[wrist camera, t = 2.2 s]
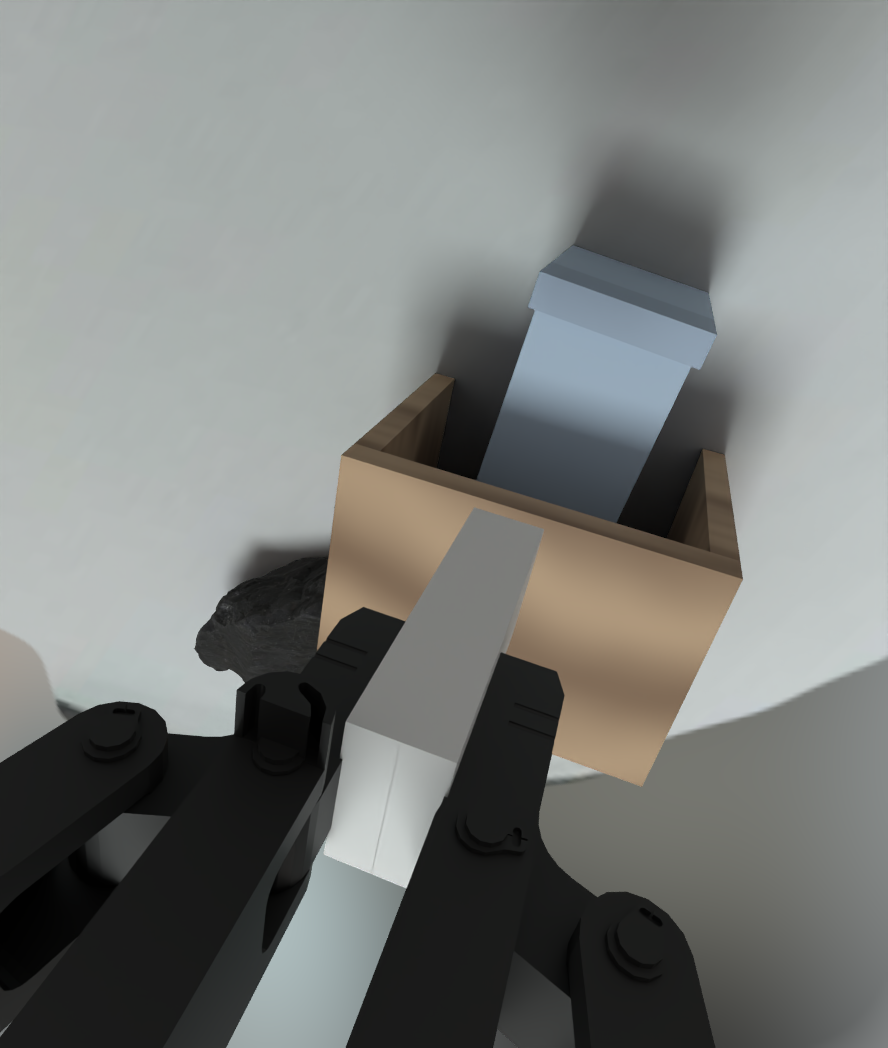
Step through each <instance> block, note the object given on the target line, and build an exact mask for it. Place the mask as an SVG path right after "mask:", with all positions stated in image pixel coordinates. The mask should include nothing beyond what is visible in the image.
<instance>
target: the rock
mask: <svg viewBox="0 0 888 1048" xmlns="http://www.w3.org/2000/svg"><path fill="white" fill-rule="evenodd" d="M327 566H328V559H327V558H317V559H312V558H304V559H301V560H296V561H294V562H292V563H290V564H288V565H286V566H285V567H282V568H279V569H277V570H274V571H272V572H270V573H269V574H267V575H265V576H263V577H261V578H255V579H252V580H249V581H246V582H243V583H241V584H240V585H238V586H237V587H236V588H234V589H232V590H230V591H229V592H228V593H227V595H225V596H223V597H222V598H221V600H220V601H219V603H218V605H217V607H216V611H215V613H214V614H213V615H212V616H211V619H210V620H209V621H208V622H207V623H206V624H205V625H204V626H203V627H202V628H201V629H200V631H199V632H198V635H197V638H196V646H195V648H194V649H195V650H196V652H197V653H198V655H199V658H200V659H201V660H202V662H203V663H204V664H206V665H207V666H209V667H212V668H214V669H215V670H216V671H226V670H228V669H230V670H232V671H234V672H235V673H237V674H238V675H239V676H240V677H241V678H242V679H243V681H244V682H245V683H246V682H247V681H249V680H250V679H252V678H254V677H257V676H260V675H263V674H266V673H268V672H284V671H289V672H294V673H299V674H300V673H301V672H302V670H303V669H304V668H305V666H306V665H307V664H308V662H309V661H310V660H311V658H312V657H314V656H315V653H316V652H317V645H318V637H319V629H320V621H321V613H322V605H323V597H324V589H325V581H326V573H327Z"/></svg>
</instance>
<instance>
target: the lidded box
mask: <svg viewBox="0 0 888 1048" xmlns="http://www.w3.org/2000/svg"><path fill="white" fill-rule="evenodd" d="M528 307H529V308H531V309H534V310H535V312H534V315H533V318H532V321H531V323H530V326H529V329H528V332H527V335H526V338H525V341H524V344H523V347H522V349H521V352H520V355H519V358H518V361H517V364H516V367H515V370H514V373H513V376H512V378H511V381H510V384H509V387H508V390H507V393H506V396H505V399H504V402H503V404H502V407H501V410H500V413H499V416H498V419H497V422H496V425H495V428H494V430H493V433H492V436H491V439H490V442H489V445H488V448H487V451H486V454H485V456H484V459H483V462H482V465H481V468H480V471H479V474H478V477H477V480H476V481H479V482H483V483H486V484H489V485H492V486H496V487H499V488H502V489H506V490H509V491H512V492H515V493H519V494H522V495H525V496H528V497H532V498H535V499H538V500H542V501H545V502H548V503H551V504H555V505H558V506H561V507H565V508H568V509H571V510H574V511H578V512H581V513H584V514H587V515H591V516H594V517H597V518H601V519H604V520H607V521H610V522H614V523H616V522H617V520H618V518H619V516H620V514H621V512H622V510H623V508H624V506H625V503H626V501H627V499H628V497H629V495H630V493H631V491H632V489H633V487H634V485H635V483H636V481H637V479H638V476H639V474H640V472H641V470H642V468H643V466H644V464H645V462H646V460H647V458H648V456H649V454H650V452H651V449H652V447H653V445H654V443H655V441H656V439H657V437H658V435H659V433H660V431H661V429H662V427H663V425H664V422H665V420H666V418H667V416H668V414H669V412H670V410H671V408H672V406H673V404H674V402H675V400H676V398H677V395H678V393H679V391H680V389H681V387H682V385H683V383H684V381H685V379H686V377H687V375H688V373H689V371H690V368H691V367H693V368H696V369H698V370H700V369H701V367H702V365H703V363H704V361H705V359H706V356H707V354H708V352H709V350H710V348H711V346H712V344H713V342H714V340H715V338H716V336H717V332H716V327H715V322H714V317H713V312H712V307H711V303H710V298H709V293H708V292H705V291H702V290H699V289H696V288H694V287H691V286H688V285H685V284H682V283H679V282H677V281H674V280H671V279H668V278H665V277H662V276H659V275H657V274H654V273H651V272H648V271H645V270H642V269H640V268H637V267H634V266H631V265H628V264H625V263H622V262H620V261H617V260H614V259H611V258H608V257H605V256H603V255H600V254H597V253H594V252H591V251H588V250H585V249H583V248H580V247H577V246H574V245H572V246H571V247H570V248H569V249H567V250H566V251H565V252H564V253H562V254H561V255H560V256H559V257H557V258H556V259H555V260H554V261H552V262H551V263H550V264H549V265H547V266H546V267H545V268H544V269H542V270H541V271H540V272H539V275H538V278H537V281H536V284H535V287H534V290H533V293H532V296H531V299H530V302H529V305H528Z"/></svg>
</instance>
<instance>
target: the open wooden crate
mask: <svg viewBox="0 0 888 1048" xmlns="http://www.w3.org/2000/svg"><path fill="white" fill-rule="evenodd" d="M454 381H455V379H454V378H451V377H447V376H444V375H440V374H436V373H435V374H434V375H433V376H432V377H431V378H429V379H428V380H427V381H426V382H425V383H424V384H423V385H421V386H420V387H419V388H418V389H417V390H416V391H414V392H413V393H412V394H411V395H410V396H409V397H408V398H406V399H405V400H404V401H403V402H402V403H401V404H400V405H398V406H397V407H396V408H395V409H394V410H393V411H392V412H390V413H389V414H388V415H387V416H386V417H385V418H383V419H382V420H381V421H380V422H379V423H378V424H377V425H375V426H374V427H373V428H372V429H371V430H370V431H369V432H367V433H366V434H365V435H364V436H363V437H362V438H361V439H359V440H358V441H357V442H356V443H355V444H354V445H352V446H351V447H350V448H349V449H348V450H347V451H346V452H344V453H343V454H342V455H341V462H340V470H339V478H338V486H337V494H336V502H335V510H334V518H333V526H332V534H331V542H330V550H329V558H328V566H327V573H326V581H325V589H324V597H323V605H322V613H321V621H320V629H319V637H318V645H317V650H318V649H319V648H320V646H321V645H322V644H323V642H324V641H326V639H327V637H328V636H329V634H330V633H331V631H332V630H333V629H334V627H335V626H336V625H337V623H338V622H339V621H340V619H342V618H344V617H346V616H347V615H349V614H351V613H353V612H355V611H357V610H358V609H360V608H362V607H366V608H368V609H371V610H374V611H377V612H380V613H383V614H386V615H389V616H392V617H395V618H397V619H400V620H403V621H406V620H407V618H408V617H409V615H410V613H411V612H412V610H413V608H414V607H415V605H416V603H417V602H418V600H419V598H420V597H421V595H422V593H423V592H424V590H425V588H426V587H427V585H428V583H429V582H430V580H431V578H432V577H433V575H434V573H435V572H436V570H437V568H438V567H439V565H440V563H441V562H442V560H443V558H444V557H445V555H446V553H447V552H448V550H449V548H450V547H451V545H452V543H453V542H454V540H455V538H456V537H457V535H458V533H459V532H460V530H461V528H462V527H463V525H464V523H465V522H466V520H467V518H468V517H469V515H470V513H471V512H472V510H473V508H474V507H475V508H478V509H481V510H484V511H488V512H491V513H494V514H497V515H500V516H504V517H507V518H510V519H513V520H516V521H520V522H523V523H526V524H529V525H532V526H536V527H539V528H542V529H544V532H543V535H542V539H541V542H540V545H539V549H538V552H537V555H536V559H535V562H534V565H533V569H532V572H531V575H530V579H529V582H528V585H527V588H526V592H525V595H524V598H523V602H522V605H521V608H520V612H519V615H518V618H517V622H516V625H515V628H514V631H513V635H512V637H511V640H510V643H509V646H508V649H507V651H506V654H508V655H511V656H513V657H516V658H519V659H522V660H525V661H528V662H531V663H534V664H537V665H540V666H542V667H545V668H548V669H551V670H554V671H557V673H558V676H559V679H560V682H561V685H562V689H563V692H564V695H565V696H564V701H563V705H562V710H561V715H560V719H559V722H558V723H559V724H558V728H557V733H556V737H555V741H554V747H553V751H552V754H553V755H556V756H559V757H562V758H564V759H567V760H570V761H572V762H575V763H578V764H581V765H583V766H586V767H589V768H592V769H594V770H597V771H600V772H603V773H605V774H608V775H611V776H614V777H616V778H619V779H622V780H625V781H627V782H631V783H633V784H636V785H639V786H641V787H642V785H643V783H644V781H645V779H646V777H647V775H648V773H649V771H650V769H651V767H652V765H653V763H654V761H655V759H656V757H657V755H658V752H659V751H660V748H661V746H662V744H663V742H664V740H665V738H666V736H667V734H668V732H669V730H670V728H671V726H672V724H673V722H674V720H675V718H676V716H677V714H678V711H679V709H680V707H681V705H682V703H683V701H684V699H685V697H686V695H687V693H688V691H689V689H690V687H691V685H692V683H693V681H694V679H695V677H696V674H697V672H698V670H699V668H700V666H701V664H702V662H703V660H704V658H705V656H706V654H707V652H708V650H709V648H710V646H711V644H712V642H713V640H714V637H715V635H716V633H717V631H718V629H719V627H720V625H721V623H722V621H723V619H724V617H725V615H726V613H727V611H728V609H729V607H730V605H731V603H732V600H733V598H734V596H735V594H736V592H737V590H738V588H739V586H740V584H741V582H742V580H743V577H742V570H741V563H740V556H739V549H738V543H737V536H736V529H735V522H734V515H733V508H732V501H731V494H730V488H729V481H728V474H727V467H726V460H725V455H723V454H720V453H716V452H713V451H709V450H706V449H702V452H701V454H700V457H699V459H698V462H697V464H696V467H695V469H694V471H693V474H692V476H691V479H690V481H689V484H688V486H687V489H686V491H685V494H684V496H683V499H682V501H681V503H680V506H679V508H678V511H677V513H676V516H675V518H674V521H673V523H672V526H671V528H670V531H669V533H668V535H667V538H663V537H660V536H656V535H653V534H650V533H646V532H643V531H640V530H637V529H633V528H630V527H627V526H623V525H620V524H617V523H614V522H610V521H607V520H604V519H601V518H597V517H594V516H591V515H587V514H584V513H581V512H578V511H574V510H571V509H568V508H565V507H561V506H558V505H555V504H551V503H548V502H545V501H542V500H538V499H535V498H532V497H528V496H525V495H522V494H519V493H515V492H512V491H509V490H506V489H502V488H499V487H496V486H492V485H489V484H486V483H483V482H479V481H476V480H473V479H470V478H466V477H463V476H460V475H456V474H453V473H450V472H447V471H443V470H440V469H437V465H438V460H439V455H440V450H441V445H442V440H443V435H444V430H445V425H446V420H447V415H448V410H449V405H450V400H451V395H452V390H453V385H454Z"/></svg>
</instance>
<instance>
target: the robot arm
mask: <svg viewBox="0 0 888 1048" xmlns="http://www.w3.org/2000/svg"><path fill="white" fill-rule="evenodd" d="M543 532H544V529H542V528H539V527H536V526H532V525H529V524H526V523H523V522H520V521H516V520H513V519H510V518H507V517H504V516H500V515H497V514H494V513H491V512H488V511H484V510H481V509H478V508H475V507H474V508H473V510H472V512H471V513H470V515H469V517H468V518H467V520H466V522H465V523H464V525H463V527H462V528H461V530H460V532H459V533H458V535H457V537H456V538H455V540H454V542H453V543H452V545H451V547H450V548H449V550H448V552H447V553H446V555H445V557H444V558H443V560H442V562H441V563H440V565H439V567H438V568H437V570H436V572H435V573H434V575H433V577H432V578H431V580H430V582H429V583H428V585H427V587H426V588H425V590H424V592H423V593H422V595H421V597H420V598H419V600H418V602H417V603H416V605H415V607H414V608H413V610H412V612H411V613H410V615H409V617H408V618H407V620H406V621H403V620H400V619H397V618H395V617H392V616H389V615H386V614H383V613H380V612H377V611H374V610H371V609H368V608H366V607H362V608H360V609H358V610H357V611H355V612H353V613H351V614H349V615H347V616H346V617H344V618H342V619H340V621H339V622H338V623H337V625H336V626H335V627H334V629H333V630H332V631H331V633H330V634H329V636H328V637H327V639H326V641H324V642H323V644H322V645H321V646H320V648H319V649H318V650H317V652H316V653H315V656H314V657H312V658H311V660H310V661H309V662H308V664H307V665H306V666H305V668H304V669H303V670H302V672H301V673H300V674H299V673H294V672H289V671H284V672H268V673H266V674H263V675H260V676H257V677H254V678H252V679H250V680H249V681H247V682H246V683H245V684H244V685H242V686H241V687H240V688H239V689H237V695H236V713H235V731H234V735H228V736H223V737H202V736H191V735H180V734H168V733H167V727H166V722H165V721H164V719H163V718H162V717H161V716H160V715H159V714H158V713H157V712H156V711H155V710H154V709H151V708H149V707H147V706H144V705H142V704H140V703H131V702H120V701H119V702H113V703H107V704H102V705H97V706H95V707H93V708H91V709H88V710H86V711H84V712H82V713H80V714H78V715H76V716H75V717H73V718H71V719H70V720H68V721H66V722H65V723H63V724H62V725H60V726H58V727H57V728H55V729H54V730H52V731H50V732H49V733H47V734H46V735H44V736H43V737H41V738H39V739H38V740H36V741H35V742H33V743H32V744H30V745H28V746H26V747H25V748H23V749H22V750H20V751H18V752H17V753H15V754H14V755H12V756H10V757H9V758H7V759H6V760H4V761H3V762H1V763H0V1032H1V1031H2V1030H3V1029H4V1028H5V1027H6V1026H8V1024H10V1023H11V1022H12V1023H11V1024H10V1025H9V1027H8V1028H7V1029H6V1030H5V1032H4V1033H3V1034H2V1035H1V1037H0V1048H226V1047H227V1045H228V1043H229V1041H230V1039H231V1037H232V1035H233V1033H234V1031H235V1029H236V1027H237V1025H238V1023H239V1021H240V1019H241V1017H242V1015H243V1013H244V1011H245V1009H246V1008H247V1006H248V1004H249V1001H250V1000H251V998H252V996H253V994H254V992H255V990H256V988H257V986H258V984H259V982H260V980H261V978H262V976H263V974H264V972H265V970H266V968H267V966H268V964H269V962H270V961H271V959H272V957H273V955H274V953H275V951H276V949H277V947H278V945H279V943H280V941H281V939H282V937H283V935H284V933H285V931H286V929H287V927H288V925H289V923H290V921H291V920H292V918H293V915H294V914H295V912H296V910H297V908H298V906H299V904H300V902H301V900H302V898H303V896H304V894H305V892H306V890H307V887H308V883H309V879H310V876H311V870H312V864H313V861H314V859H315V858H316V855H317V854H318V852H319V850H320V848H321V846H322V844H323V842H324V840H325V838H326V837H327V838H326V845H325V850H324V855H326V856H329V857H331V858H334V859H336V860H338V861H341V862H343V863H346V864H348V865H351V866H353V867H356V868H358V869H360V870H363V871H365V872H368V873H370V874H373V875H375V876H378V877H380V878H383V879H385V880H387V881H390V882H392V883H395V884H397V885H399V886H402V887H404V888H406V891H405V894H404V896H403V899H402V901H401V904H400V907H399V909H398V912H397V915H396V917H395V920H394V923H393V925H392V928H391V930H390V933H389V935H388V938H387V941H386V943H385V946H384V949H383V952H382V954H381V956H380V959H379V962H378V964H377V967H376V970H375V972H374V975H373V978H372V980H371V983H370V985H369V988H368V990H367V993H366V996H365V998H364V1001H363V1004H362V1006H361V1009H360V1012H359V1014H358V1017H357V1019H356V1022H355V1024H354V1027H353V1030H352V1032H351V1035H350V1038H349V1040H348V1043H347V1045H346V1048H493V1045H494V1041H495V1036H496V1031H497V1029H498V1030H499V1031H500V1032H501V1033H503V1034H504V1035H505V1036H506V1037H507V1038H508V1039H509V1040H510V1041H511V1042H513V1043H514V1044H515V1045H516V1046H517V1047H518V1048H715V1044H714V1040H713V1036H712V1032H711V1028H710V1024H709V1020H708V1015H707V1011H706V1007H705V1003H704V999H703V995H702V991H701V987H700V983H699V978H698V974H697V971H696V966H695V962H694V958H693V955H692V953H691V950H690V948H689V946H688V943H687V941H686V938H685V936H684V934H683V932H682V931H681V930H680V929H679V927H678V926H677V925H676V924H675V922H674V921H673V920H672V919H671V918H670V916H669V915H668V914H667V913H666V912H664V911H663V910H662V909H660V908H659V907H658V906H656V905H655V904H654V903H652V902H651V901H649V900H648V899H646V898H643V897H640V896H637V895H634V894H631V893H629V892H606V893H605V894H603V895H601V896H599V897H596V896H595V895H593V894H592V893H591V892H589V891H588V890H587V889H586V888H584V887H583V886H582V885H580V884H579V883H577V882H576V881H575V880H574V879H572V878H571V877H570V876H569V875H568V874H566V873H565V872H564V871H563V870H562V869H561V868H560V867H559V866H558V865H557V864H556V862H555V861H554V860H553V858H552V857H551V856H550V854H549V853H548V851H547V849H546V847H545V845H544V843H543V841H542V839H541V834H540V829H539V825H538V824H539V811H540V806H541V801H542V797H543V792H544V788H545V783H546V779H547V774H548V769H549V765H550V760H551V756H552V751H553V747H554V741H555V737H556V733H557V728H558V724H559V723H558V722H559V719H560V715H561V710H562V705H563V701H564V696H565V695H564V692H563V689H562V685H561V682H560V679H559V676H558V673H557V671H554V670H551V669H548V668H545V667H542V666H540V665H537V664H534V663H531V662H528V661H525V660H522V659H519V658H516V657H513V656H511V655H508V654H506V651H507V649H508V646H509V643H510V640H511V637H512V635H513V631H514V628H515V625H516V622H517V618H518V615H519V612H520V608H521V605H522V602H523V598H524V595H525V592H526V588H527V585H528V582H529V579H530V575H531V572H532V569H533V565H534V562H535V559H536V555H537V552H538V549H539V545H540V542H541V539H542V535H543Z"/></svg>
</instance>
